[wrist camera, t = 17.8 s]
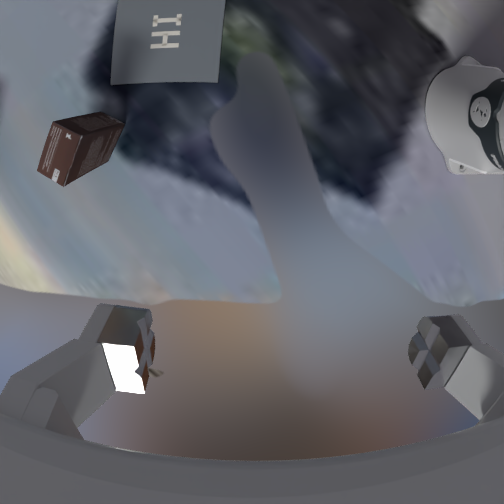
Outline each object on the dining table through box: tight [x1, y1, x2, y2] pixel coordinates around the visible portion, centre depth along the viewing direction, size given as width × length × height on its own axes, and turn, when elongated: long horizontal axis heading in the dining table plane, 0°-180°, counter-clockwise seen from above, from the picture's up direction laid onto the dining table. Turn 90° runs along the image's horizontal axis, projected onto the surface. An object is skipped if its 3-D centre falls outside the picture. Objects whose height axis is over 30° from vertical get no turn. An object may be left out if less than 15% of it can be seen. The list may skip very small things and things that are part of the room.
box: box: [37, 112, 125, 187], centre depth 32 cm, size 6×4×12 cm
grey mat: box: [111, 0, 225, 85], centre depth 32 cm, size 14×14×1 cm
